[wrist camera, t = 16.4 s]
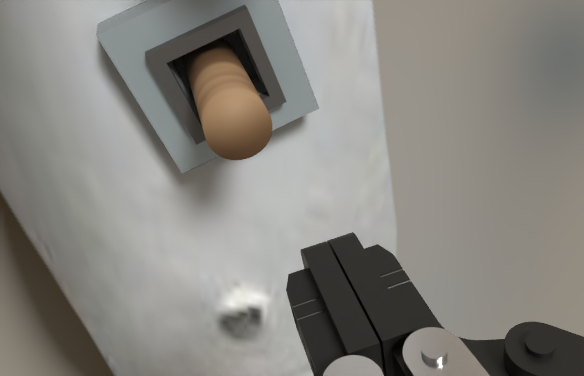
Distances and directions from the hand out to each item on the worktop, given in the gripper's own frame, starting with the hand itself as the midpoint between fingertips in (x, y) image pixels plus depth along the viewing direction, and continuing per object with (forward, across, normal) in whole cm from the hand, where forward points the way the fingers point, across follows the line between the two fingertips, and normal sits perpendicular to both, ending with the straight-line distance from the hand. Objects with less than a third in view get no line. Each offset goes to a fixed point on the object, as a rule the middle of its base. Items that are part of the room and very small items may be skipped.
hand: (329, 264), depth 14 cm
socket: (+29, 0, +4) cm, 29 cm away
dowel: (+29, 0, +4) cm, 29 cm away
